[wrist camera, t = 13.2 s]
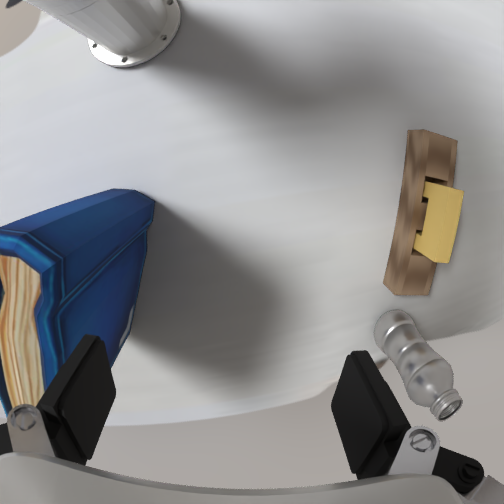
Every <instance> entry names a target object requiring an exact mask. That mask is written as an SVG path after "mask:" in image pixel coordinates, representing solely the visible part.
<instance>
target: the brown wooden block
mask: <svg viewBox="0 0 504 504" xmlns="http://www.w3.org/2000/svg"><path fill="white" fill-rule="evenodd" d="M456 153H457V140H454V139H451V138H448V137H445V136H442V135H439V134H436V133H433V132H430V131H427V130H408V135H407V146H406V156H405V165H404V173H403V181H402V188H401V195H400V201H399V208H398V214H397V219H396V225H395V230H394V235H393V240H392V245H391V250H390V255H389V259H388V264H387V268H386V272H385V276H384V281H383V284H384V285H385V286H386V287H387V288H388V289H389V290H390V291H391V292H392V293H393V294H394V295H428V293H429V290H430V287H431V283H432V280H433V276H434V273H435V269H436V265H437V262H433V261H432V260H431V259H429V258H428V257H426V256H425V255H423V254H422V253H420V252H418V251H417V250H415V249H414V248H413V244H414V239H415V234H416V230H421V231H423V226H424V221H425V216H426V211H427V205H428V199H429V198H427V197H424V196H422V195H423V189H424V182H425V181H427V182H431V183H435V184H439V185H443V186H447V187H450V188H452V186H453V179H454V171H455V163H456Z"/></svg>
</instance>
